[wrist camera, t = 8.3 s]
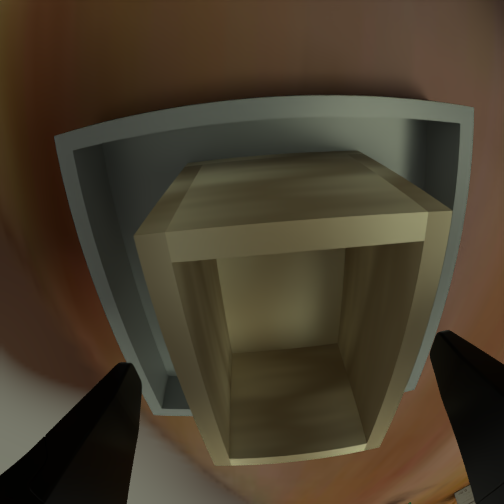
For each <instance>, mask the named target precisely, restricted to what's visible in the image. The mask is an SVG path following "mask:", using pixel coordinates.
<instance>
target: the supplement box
mask: <svg viewBox="0 0 504 504" xmlns="http://www.w3.org/2000/svg"><path fill="white" fill-rule="evenodd" d="M454 495H455V498H456V501H457V504H475V501H474V497H473V493H472V490H471V486H470V485H469V486H467V487H465V488H463V489H461V490H460V491H458V492H456V493H454Z"/></svg>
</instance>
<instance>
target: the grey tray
mask: <svg viewBox="0 0 504 504" xmlns="http://www.w3.org/2000/svg"><path fill="white" fill-rule="evenodd" d="M473 127H474V108H473V107H468V106H462V105H456V104H450V103H444V102H437V101H429V100H420V99H410V98H399V97H385V96H365V95H291V96H271V97H257V98H245V99H234V100H225V101H216V102H208V103H200V104H193V105H186V106H180V107H174V108H168V109H162V110H157V111H151V112H146V113H141V114H136V115H131V116H127V117H122V118H118V119H114V120H109V121H105V122H101V123H97V124H93V125H90V126H86V127H83V128H79V129H76V130H73V131H69V132H66V133H63V134H60V135H57V136H54V139H55V144H56V150H57V155H58V160H59V164H60V169H61V174H62V178H63V182H64V186H65V190H66V195H67V198H68V202H69V206H70V210H71V213H72V217H73V221H74V224H75V228H76V231H77V234H78V238H79V241H80V244H81V247H82V250H83V253H84V256H85V259H86V262H87V265H88V268H89V271H90V274H91V277H92V280H93V282H94V285H95V288H96V291H97V293H98V296H99V298H100V301H101V304H102V306H103V309H104V311H105V314H106V316H107V319H108V321H109V323H110V326H111V328H112V331H113V333H114V335H115V337H116V340H117V342H118V344H119V346H120V349H121V351H122V353H123V355H124V357H125V360H126V362H127V363H132V364H133V365H134V367H135V369H136V371H137V373H138V375H139V377H140V379H141V382H142V394H143V396H144V398H145V400H146V401H147V403H148V405H149V407H150V409H151V411H152V412H153V414H154V415H167V416H193V415H192V413H191V410H190V408H189V405H188V403H187V400H186V398H185V395H184V393H183V390H182V388H181V385H180V382H179V380H178V377H177V374H176V372H175V369H174V366H173V364H172V361H171V358H170V355H169V352H168V350H167V347H166V344H165V341H164V338H163V335H162V332H161V329H160V326H159V323H158V320H157V317H156V314H155V310H154V307H153V304H152V301H151V297H150V294H149V291H148V287H147V284H146V281H145V277H144V274H143V270H142V266H141V263H140V259H139V255H138V252H137V248H136V244H135V240H134V234H135V233H136V231H137V230H138V229H139V227H140V226H141V224H142V223H143V222H144V220H145V219H146V217H147V216H148V215H149V213H150V212H151V210H152V209H153V208H154V206H155V205H156V204H157V202H158V201H159V200H160V198H161V197H162V196H163V194H164V193H165V192H166V190H167V189H168V188H169V186H170V185H171V184H172V183H173V181H174V180H175V179H176V177H177V176H178V175H179V174H180V172H181V171H182V170H183V169H184V167H185V166H186V165H187V163H192V162H200V161H209V160H218V159H227V158H237V157H248V156H260V155H273V154H288V153H305V152H329V151H359V152H361V153H363V154H365V155H367V156H368V157H370V158H372V159H373V160H375V161H377V162H379V163H380V164H382V165H384V166H385V167H387V168H389V169H390V170H392V171H394V172H395V173H397V174H398V175H400V176H402V177H403V178H405V179H406V180H408V181H409V182H411V183H413V184H414V185H416V186H417V187H419V188H420V189H422V190H423V191H425V192H426V193H428V194H429V195H431V196H432V197H434V198H435V199H437V200H438V201H439V202H441V203H442V204H444V205H445V206H447V207H448V208H449V209H451V210H452V211H453V212H452V218H451V225H450V231H449V236H448V242H447V247H446V252H445V257H444V262H443V267H442V271H441V276H440V280H439V284H438V288H437V292H436V296H435V300H434V303H433V307H432V311H431V314H430V318H429V321H428V325H427V328H426V331H425V334H424V338H423V341H422V344H421V347H420V350H419V353H418V356H417V359H416V361H415V364H414V367H413V370H412V372H411V375H410V378H409V380H408V383H407V386H406V388H405V391H404V392H407V391H411V390H414V389H415V387H416V384H417V382H418V380H419V377H420V375H421V372H422V370H423V367H424V364H425V362H426V359H427V356H428V354H429V351H430V348H431V345H432V343H433V340H434V337H435V334H436V331H437V328H438V325H439V322H440V318H441V315H442V312H443V308H444V305H445V302H446V298H447V294H448V291H449V287H450V283H451V279H452V275H453V271H454V267H455V263H456V258H457V254H458V249H459V244H460V239H461V234H462V229H463V223H464V217H465V211H466V204H467V197H468V189H469V181H470V172H471V161H472V147H473Z"/></svg>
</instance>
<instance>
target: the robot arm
mask: <svg viewBox="0 0 504 504" xmlns="http://www.w3.org/2000/svg"><path fill="white" fill-rule="evenodd" d="M430 359H431V363H432V366H433V369H434V373H435V376H436V380H437V384H438V387H439V391H440V395H441V398H442V401H443V404H444V406H445V409H446V412H447V414H448V417H449V420H450V423H451V426H452V428H453V431H454V434H455V437H456V440H457V443H458V446H459V449H460V452H461V455H462V459H463V462H464V465H465V468H466V472H467V475H468V479H469V482H470V486H471V490H472V493H473V497H474V501H475V504H504V364H502V363H501V362H499V361H498V360H496V359H495V358H493V357H491V356H490V355H488V354H487V353H485V352H484V351H482V350H480V349H479V348H477V347H476V346H474V345H473V344H471V343H469V342H468V341H466V340H465V339H463V338H461V337H460V336H458V335H457V334H455V333H453V332H452V331H450V330H446V331H441V332H438V333H437V334H436V336H435V339H434V342H433V345H432V348H431V351H430ZM141 395H142V382H141V379H140V377H139V375H138V373H137V371H136V369H135V367H134V365H133V364H132V363H127V362H120V363H118V364H117V365H116V366H115V367H114V368H113V369H112V370H111V371H110V372H109V373H108V374H107V375H106V376H105V377H104V378H103V379H102V380H100V381H99V382H98V383H97V384H96V385H95V386H94V387H93V388H92V389H91V391H89V392H88V393H87V394H86V395H85V396H84V397H83V398H82V399H81V400H80V401H79V402H78V403H77V404H76V405H75V406H74V407H73V408H72V409H71V410H70V411H69V412H68V413H67V414H66V415H65V416H64V417H63V418H62V419H61V420H60V421H59V422H58V423H57V424H56V425H55V426H54V427H53V428H52V429H51V430H50V431H49V432H48V433H47V434H46V436H45V437H43V438H42V439H41V440H40V441H39V442H38V443H37V444H36V445H35V446H34V447H33V448H32V449H31V450H30V451H29V452H28V453H27V454H25V455H24V456H23V457H22V458H21V459H20V460H18V461H17V462H16V463H15V464H14V465H12V466H11V467H10V468H9V469H7V470H6V471H5V472H4V473H3V474H1V475H0V504H127V498H128V491H129V485H130V484H129V483H130V478H131V472H132V466H133V460H134V454H135V448H136V443H137V438H138V431H139V420H140V407H141Z"/></svg>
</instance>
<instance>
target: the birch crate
mask: <svg viewBox="0 0 504 504" xmlns="http://www.w3.org/2000/svg"><path fill="white" fill-rule="evenodd" d="M452 212H453V211H452V210H451V209H449V208H448V207H447V206H445V205H444V204H442V203H441V202H439V201H438V200H437V199H435V198H434V197H432V196H431V195H429V194H428V193H426V192H425V191H423V190H422V189H420V188H419V187H417V186H416V185H414V184H413V183H411V182H409V181H408V180H406V179H405V178H403V177H402V176H400V175H398V174H397V173H395V172H394V171H392V170H390V169H389V168H387V167H385V166H384V165H382V164H380V163H379V162H377V161H375V160H373V159H372V158H370V157H368V156H367V155H365V154H363V153H361V152H359V151H329V152H305V153H288V154H273V155H260V156H248V157H237V158H227V159H218V160H209V161H200V162H192V163H187V165H186V166H185V167H184V169H183V170H182V171H181V172H180V174H179V175H178V176H177V177H176V179H175V180H174V181H173V183H172V184H171V185H170V186H169V188H168V189H167V190H166V192H165V193H164V194H163V196H162V197H161V198H160V200H159V201H158V202H157V204H156V205H155V206H154V208H153V209H152V210H151V212H150V213H149V215H148V216H147V217H146V219H145V220H144V222H143V223H142V224H141V226H140V227H139V229H138V230H137V231H136V233H135V234H134V240H135V244H136V248H137V252H138V255H139V259H140V263H141V266H142V270H143V274H144V277H145V281H146V284H147V287H148V291H149V294H150V297H151V301H152V304H153V307H154V310H155V314H156V317H157V320H158V323H159V326H160V329H161V332H162V335H163V338H164V341H165V344H166V347H167V350H168V352H169V355H170V358H171V361H172V364H173V366H174V369H175V372H176V374H177V377H178V380H179V382H180V385H181V388H182V390H183V393H184V395H185V398H186V400H187V403H188V405H189V408H190V410H191V413H192V415H193V417H194V420H195V422H196V424H197V427H198V429H199V431H200V434H201V436H202V438H203V441H204V443H205V445H206V447H207V450H208V452H209V454H210V456H211V458H212V460H213V462H214V465H215V466H231V465H258V464H273V463H284V462H294V461H303V460H311V459H318V458H325V457H332V456H338V455H343V454H349V453H354V452H359V451H364V450H369V449H373V448H378V447H379V446H380V444H381V442H382V440H383V438H384V436H385V434H386V432H387V430H388V428H389V426H390V423H391V421H392V419H393V417H394V414H395V412H396V410H397V408H398V405H399V403H400V400H401V398H402V396H403V393H404V391H405V388H406V386H407V383H408V380H409V378H410V375H411V372H412V370H413V367H414V364H415V361H416V359H417V356H418V353H419V350H420V347H421V344H422V341H423V338H424V334H425V331H426V328H427V325H428V321H429V318H430V314H431V311H432V307H433V303H434V300H435V296H436V292H437V288H438V284H439V280H440V276H441V271H442V267H443V262H444V257H445V252H446V247H447V242H448V236H449V231H450V225H451V218H452Z"/></svg>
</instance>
